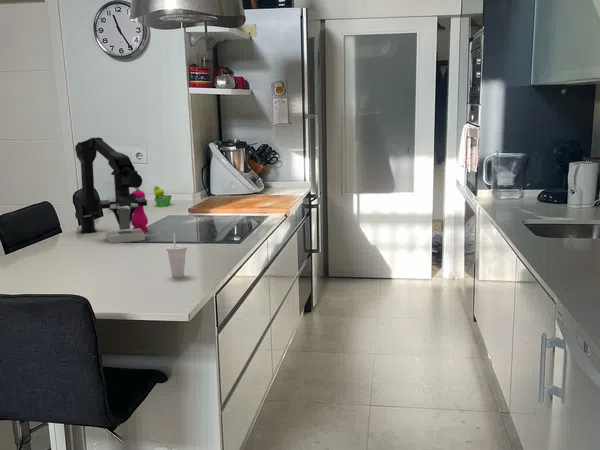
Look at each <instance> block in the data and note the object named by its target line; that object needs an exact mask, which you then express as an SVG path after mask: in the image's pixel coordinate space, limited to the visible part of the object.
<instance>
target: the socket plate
mask: <svg viewBox="0 0 600 450" xmlns="http://www.w3.org/2000/svg"><path fill="white" fill-rule="evenodd" d="M105 233H106V239H107V241H108V243H109V244H110V243H111V244H118V243H119V244H121V243H133V242H141V241H142V240H144V241H146V235H145V234H146V232H143V231H142V230H141V229H140V228H137V229H133V228H130V229H123V230H120V229H118V230H117V229H115V230H106V232H105ZM140 240H141V241H140ZM132 241H133V242H132Z"/></svg>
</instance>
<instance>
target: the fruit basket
mask: <svg viewBox="0 0 600 450" xmlns="http://www.w3.org/2000/svg"><path fill="white" fill-rule="evenodd" d="M153 193H154V202H155V204H156V207H157V208H163V207H164V208H166V207H168V206H169V205H170V204H171V200H172V197H173V196H172V195H170V194H169V195H166V194H164V193H165V190H164V189H162V188H161V187H160V186H158V185H155V186H154V187H153Z"/></svg>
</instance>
